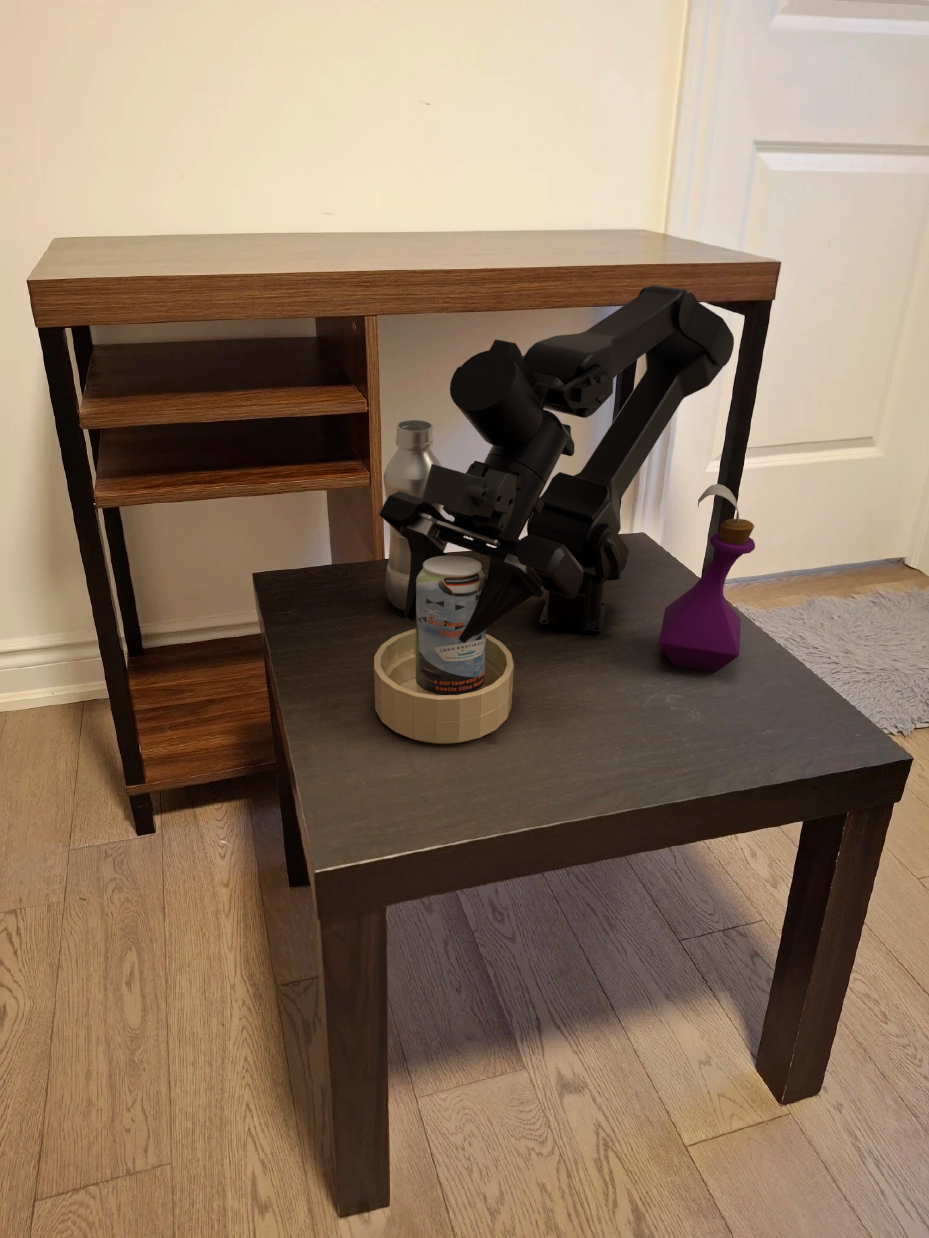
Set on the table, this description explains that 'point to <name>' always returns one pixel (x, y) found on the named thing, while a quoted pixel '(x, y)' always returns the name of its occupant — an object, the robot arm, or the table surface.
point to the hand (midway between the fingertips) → (434, 630)
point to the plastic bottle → (410, 478)
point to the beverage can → (448, 626)
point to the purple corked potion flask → (709, 602)
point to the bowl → (440, 714)
